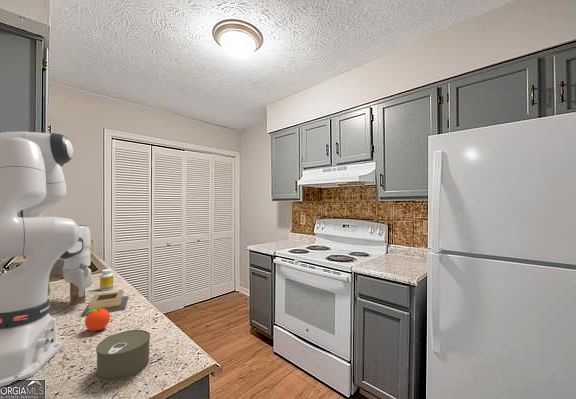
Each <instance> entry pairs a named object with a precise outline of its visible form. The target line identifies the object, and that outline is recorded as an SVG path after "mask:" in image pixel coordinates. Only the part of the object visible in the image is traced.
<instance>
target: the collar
mask: <svg viewBox="0 0 576 399" xmlns="http://www.w3.org/2000/svg"><path fill="white" fill-rule="evenodd" d="M124 294H125V291H124V290H121V291H120V290H119V291H114V292H105V293H104V292H103V293H98V294H94V295H93V296H92V298H90V299H91V300H90V301H89V302H88V304H87V306H86V307H85V309H84V310H83V312H82V313H81V317H87V316H88V314H89V313H90V312H89V311H91V310H94V309H100V308H102V309H105V310H107V311H108V312H109V313H113V312H117V311H123V310H124V311H125V310H126V308H127V305H128V301H129V298H130V295H124ZM87 312H88V313H87ZM91 312H92V311H91Z"/></svg>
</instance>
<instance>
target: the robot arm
mask: <svg viewBox="0 0 576 399" xmlns="http://www.w3.org/2000/svg"><path fill="white" fill-rule="evenodd" d="M73 155H74V147H73V145H72V143H71V141H70V139H69V138H68V137H67V136H66V135H65V134H60V133H56V132H51V133H47V132H38V131H37V132H34V131H5V132H2V131H0V259H7V258H17V257H23V258H24V260H23V262H22V263H21V264H19V265H18V266H16V267H14V268H12V269H9V270H8V271H6V272H4V273H2V274H1V275H0V388H1V387H4V386H8V385H11V383H12V382H14V381H16V380H21V381H23V380H26V379H28V378H30V377H32V376H33V375H35V374H36V372H38V371H39V370H40V369H42V367H44V366H45V364H46V363H48V361H50V360H51V358H53V357H54V356H55V355H56V354H57V353H58V352H59V351H60V350H61V349H62V348H63V347H64V342H63V341H61V340H60V341H59V340H58V332H57V331H58V330H57V320H56V318H54V317H53V316H52V315H51V314H50V307H51V302H50V299H49V296H48V283H49V284H50V276H51V271H52V269H53V267H54V266H55V264H56V262H57V261H58V260H61V266H62V272H63V275H62V276H63V279H64V282H66V283H69V284H70V283H73V284H74V285H75V286H77V287H78V289H79V292H78V296H79V297H82V296H84V291H85V292H86V289H87V288H91V287H92V284H93V281H92V280H93V278H92V270H91V268H89V266H91V262H92V260H91V259H92V258H91V256H92V253H91V249H90V248H91V245H92V238H91V235H92V234H91V231H90V227H89V226H86V225H82V224H78V223H76V221H75V220H73V219H72V218H69V217H67V218H66V217H61V216H60V217H58V216H43V213H44V211H45V210H46V209H48V208H50V207H53V206H55V205H57V204H59V203H60V202H62V201H63V200H64V199H65V197H66V196H67V184H66V180H65V179H66V178H65V175H64V171H63V168H62V167H64V166H65V164H67V163H69V162H70V161H71V160H72V158H73ZM18 213H20V216H19V215H18ZM25 378H26V379H25ZM22 379H23V380H22ZM12 384H13V383H12Z"/></svg>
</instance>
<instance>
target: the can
mask: <svg viewBox="0 0 576 399" xmlns="http://www.w3.org/2000/svg"><path fill="white" fill-rule="evenodd" d="M150 340H151V333H150V332H149V331H147V330H144V329H131V330H125V331H121V332H118V333H114V334H112V335H110V336H108V337H106V338H105V339H102V340H101V341H100V342H99V343H98V344H97V345H96V348H95V352H96V377H97V380H99V381H101V382H103V381H104V382H105V383H113V382H120V381H124V380H126V379H129V378H132V377H135V376H136V375H137V374H139V373H140V372H143V370H144V369H146V367H147V366H148V365H149V364H150Z"/></svg>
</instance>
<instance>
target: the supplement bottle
mask: <svg viewBox="0 0 576 399" xmlns="http://www.w3.org/2000/svg"><path fill="white" fill-rule="evenodd" d="M112 270H113V269H112V268H106V269H102V270H101V274H100V276H99V289H100V291H101V292H102V291H103V292H104V291H105V292H106V291H110V290H113V288H114V273H113V271H112Z"/></svg>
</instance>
